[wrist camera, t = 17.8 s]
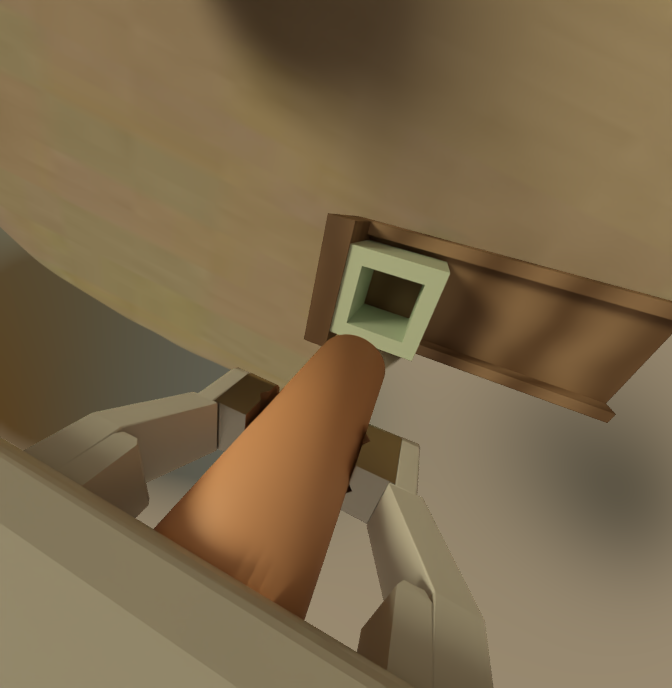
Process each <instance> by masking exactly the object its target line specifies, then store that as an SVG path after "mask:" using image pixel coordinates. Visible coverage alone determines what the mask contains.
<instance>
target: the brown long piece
mask: <svg viewBox="0 0 672 688" xmlns="http://www.w3.org/2000/svg"><path fill="white" fill-rule="evenodd" d="M365 240H373V241H376V242H380V243H383V244H387V245H390V246H394V247H397V248H401V249H404V250H408V251H411V252H415V253H418V254H422V255H425V256H429V257H432V258H436V259H439V260H443V261H446V262H447V264H448V267H449V270H450V275H449V277H448V280H447V282H446V284H445V287H444V289H443V291H442V293H441V296H440V298H439V300H438V303H437V305H436V307H435V309H434V312H433V314H432V316H431V319H430V321H429V323H428V325H427V328H426V330H425V332H424V335H423V337H422V339H421V341H420V344H419V346H418V348H417V351H416V353H415V354H418V355H421V356H423V357H426V358H429V359H432V360H435V361H437V362H440V363H443V364H446V365H448V366H451V367H454V368H457V369H459V370H462V371H465V372H468V373H470V374H473V375H476V376H479V377H482V378H485V379H487V380H490V381H493V382H495V383H498V384H501V385H504V386H506V387H509V388H512V389H515V390H517V391H520V392H523V393H526V394H529V395H532V396H534V397H537V398H540V399H542V400H545V401H548V402H551V403H553V404H556V405H559V406H562V407H564V408H567V409H570V410H573V411H576V412H578V413H581V414H584V415H587V416H589V417H592V418H595V419H598V420H601V421H603V422H606V423H608V422H609V421H610V420H611V419H612V418H613V417H614V416H615V415H616V414H615V413H614V412H613V411H612V410H611V409H610V408H609V406H607V404H606V403H607V401H609V400H610V398H612V396H613V395H614V394H615V393H616V392H617V391H618V390H619V389H620V388H621V387H622V386H623V385H624V384H625V383H626V382H627V381H628V379H630V378H631V376H632V375H633V374H634V373H635V372H636V371H637V370H638V369H639V368H640V367H641V366H642V365H643V364H644V363H645V361H647V360H648V359H649V358H650V356H651V355H652V354H653V353H654V352H655V351H656V350H657V349H658V348H659V347H660V346H661V345H662V344H663V343H664V342H665V341H666V340H667V339H668V338H669V337H670V335H671V334H672V301H670V300H666V299H662V298H659V297H655V296H651V295H648V294H644V293H640V292H636V291H633V290H629V289H625V288H622V287H618V286H614V285H611V284H607V283H603V282H600V281H596V280H592V279H588V278H585V277H581V276H577V275H574V274H570V273H566V272H563V271H559V270H555V269H552V268H548V267H544V266H540V265H537V264H533V263H529V262H526V261H522V260H518V259H515V258H511V257H507V256H503V255H500V254H496V253H492V252H489V251H485V250H481V249H478V248H474V247H470V246H467V245H463V244H459V243H455V242H452V241H448V240H444V239H441V238H437V237H433V236H430V235H426V234H422V233H419V232H415V231H411V230H407V229H404V228H400V227H396V226H393V225H389V224H385V223H382V222H378V221H374V220H371V219H367V218H363V217H359V216H350V215H340V214H330V213H328V216H327V221H326V226H325V232H324V237H323V242H322V247H321V253H320V258H319V263H318V268H317V273H316V279H315V284H314V289H313V294H312V300H311V305H310V310H309V315H308V320H307V326H306V331H305V336H304V340H307V341H310V342H312V343H315V344H318V345H320V346H323V344H324V343H325V342H326V341H328V340H329V339H331V338H332V337H335V336H336V335H337V334H336V333H333V332H331V331H330V327H331V323H332V319H333V315H334V310H335V306H336V302H337V298H338V294H339V290H340V286H341V281H342V277H343V273H344V269H345V265H346V261H347V256H348V252H349V248H350V244H352V243H356V242H360V241H365ZM421 287H422V284H420V283H416V282H413V281H410V280H407V279H403V278H400V277H397V276H394V275H390V274H387V273H384V272H381V271H377V270H374V271H373V275H372V278H371V282H370V285H369V288H368V292H367V295H366V299H365V302H364V304H367V305H370V306H373V307H376V308H379V309H382V310H385V311H388V312H391V313H394V314H397V315H400V316H403V317H406V318H409V317H410V315H411V312H412V310H413V307H414V305H415V302H416V300H417V297H418V294H419V292H420V289H421Z"/></svg>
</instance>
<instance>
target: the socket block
mask: <svg viewBox="0 0 672 688" xmlns="http://www.w3.org/2000/svg"><path fill="white" fill-rule="evenodd" d="M374 270H377V271H381V272H384V273H387V274H390V275H394V276H397V277H400V278H403V279H407V280H410V281H413V282H416V283H420V284H422V287H421V289H420V292H419V294H418V297H417V300H416V302H415V305H414V307H413V310H412V312H411V315H410V317H409V318H406V317H403V316H400V315H397V314H394V313H391V312H388V311H385V310H382V309H379V308H376V307H373V306H370V305H367V304H364V302H365V299H366V295H367V292H368V288H369V285H370V282H371V278H372V275H373V271H374ZM449 275H450V270H449V267H448V264H447V262H446V261H443V260H439V259H436V258H432V257H429V256H425V255H422V254H418V253H415V252H411V251H408V250H404V249H401V248H397V247H394V246H390V245H387V244H383V243H380V242H376V241H373V240H365V241H360V242H356V243H352V244H350V248H349V252H348V256H347V261H346V265H345V269H344V273H343V277H342V281H341V286H340V290H339V294H338V298H337V302H336V306H335V310H334V315H333V319H332V323H331V327H330V331H331V332H333V333H336V334H339V335H343V334H350V335H356V336H359V337H361V338H364V339H366V340H367V341H369V342H370V343H371V344H373V345H374V346H375V347H376V348H377V349H380V350H382V351H385V352H388V353H391V354H393V355H396V356H399V357H401V358H404V359H407V360H410V361H412V359H413V357H414V355H415V353H416V351H417V348H418V346H419V344H420V341H421V339H422V337H423V335H424V332H425V330H426V328H427V325H428V323H429V321H430V319H431V316H432V314H433V312H434V309H435V307H436V305H437V303H438V300H439V298H440V296H441V293H442V291H443V289H444V287H445V284H446V282H447V280H448V277H449Z"/></svg>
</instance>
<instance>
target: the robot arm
mask: <svg viewBox="0 0 672 688" xmlns="http://www.w3.org/2000/svg"><path fill="white" fill-rule="evenodd" d="M279 388H280V387H279V386H278V385H277V384H274V383H272V382H270V381H268V380H266V379H263V378H261V377H259V376H257V375H255V374H252V373H249V372H247V371H245V370H243V369H241V368H239V367H238V368H233V369H232V370H230V371H229V372H228V373H226V374H225V375H223V376H222V377H220V378H219V379H218V380H216V381H215V382H214V383H212V384H211V385H209V386H208V387H207V388H205V389H204V390H202V391H201V392H199V393H198V394H197V393H195V392H190V393H186V394H181V395H176V396H171V397H166V398H161V399H157V400H152V401H147V402H142V403H137V404H133V405H127V406H123V407H118V408H113V409H108V410H103V411H99V412H93V413H91V414H89V415H88V416H86V417H84V418H82V419H80V420H78V421H76V422H75V423H73V424H71V425H69V426H67V427H65V428H64V429H62V430H60V431H58V432H56V433H55V434H53V435H51V436H49V437H47V438H46V439H44V440H42V441H40V442H38V443H36V444H35V445H33V446H31V447H29V448H27V449H25V450H21V449H19V448H18V447H16V446H15V445H13V444H11V443H10V442H8V441H6V440H5V439H3V438H1V437H0V688H493V681H492V674H491V665H490V657H489V649H488V643H487V642H488V641H487V634H486V627H485V620H484V618H483V616H482V614H481V612H480V610H479V608H478V606H477V604H476V602H475V600H474V598H473V596H472V594H471V593H470V590H469V588H468V586H467V584H466V582H465V581H464V578H463V577H462V574H461V573H460V571H459V569H458V567H457V565H456V563H455V561H454V559H453V557H452V555H451V553H450V551H449V549H448V547H447V545H446V543H445V541H444V539H443V537H442V535H441V533H440V531H439V529H438V527H437V525H436V523H435V521H434V519H433V517H432V515H431V513H430V511H429V509H428V507H427V505H426V503H425V501H424V499H423V498H422V497H420V496H418V495H417V489H418V471H419V455H420V446H419V444H417V443H415V442H412V441H410V440H407V439H405V438H403V437H399V436H397V435H395V434H392V433H390V432H387V431H385V430H383V429H380V428H378V427H376V426H373V425H371V424H369V425H368V427H367V430H366V432H365V435H364V438H363V441H362V444H361V446H360V452H359V454H358V457H357V459H356V462H355V465H354V468H353V471H352V474H351V477H350V480H349V486H348V489H347V492H346V495H345V498H344V501H343V504H342V507H341V510H342V511H344V512H346V513H348V514H350V515H351V516H353V517H355V518H357V519H359V520H361V521H363V522H365V523H366V524H367V529H368V534H369V538H370V543H371V547H372V551H373V556H374V560H375V565H376V569H377V574H378V578H379V582H380V587H381V590H382V596H383V600H384V601H383V603H382V604H381V605H380V607H379V608H378V609H377V610H376V612H375V613H374V614H373V615H372V617H371V618H370V619H369V620H368V622H367V623H366V624H365V625H364V626H363V628H362V629H361V633H360V639H359V644H358V649H357V652H356V651H354V650H352V649H351V648H349V647H347V646H346V645H344V644H343V643H341V642H339V641H338V640H336V639H334V638H333V637H331V636H329V635H327V634H326V633H324V632H323V631H321V630H319V629H318V628H316V627H314V626H313V625H311V624H309V623H308V622H306V621H304V620H303V619H301V618H299V617H298V616H296V615H295V614H293V613H291V612H290V611H288V610H286V609H285V608H283V607H281V606H280V605H278V604H276V603H275V602H273V601H271V600H270V599H268V598H266V597H265V596H263V595H261V594H260V593H258V592H256V591H255V590H253V589H251V588H250V587H248V586H247V585H245V584H243V583H242V582H240V581H238V580H237V579H235V578H233V577H232V576H230V575H228V574H227V573H225V572H223V571H222V570H220V569H218V568H217V567H215V566H213V565H212V564H210V563H208V562H207V561H205V560H203V559H202V558H200V557H199V556H197V555H195V554H194V553H192V552H190V551H189V550H187V549H185V548H184V547H182V546H180V545H179V544H177V543H175V542H174V541H172V540H170V539H169V538H167V537H165V536H164V535H162V534H160V533H159V532H157V531H155V530H154V529H152V528H151V527H149V526H147V525H146V524H144V523H142V522H141V521H139V520H137V519H136V517H137V516H138V515H139V514H140V513H141V512H142V511H143V510H144V509H145V508H146V507H147V506H148V504H149V494H148V490H147V484H146V483H147V482H149V481H151V480H153V479H155V478H158V477H160V476H162V475H164V474H166V473H168V472H171V471H173V470H175V469H177V468H179V467H182V466H184V465H186V464H188V463H190V462H192V461H195V460H197V459H199V458H201V457H203V456H205V455H208V454H210V453H212V452H214V451H216V450H217V449H219V450H221V451H223V452H225V451H226V450H227V449H228V448H229V447H230V445H231V444H232V443H233V442H234V441H235V440H236V439H237V438H238V437H239V436H240V435H241V433H242V432H243V431H244V430H245V429H246V428H247V427H248V426H249V425H250V424H251V423H252V422H253V420H254V419H255V418H256V417H257V416H258V415H259V414H260V413H261V412H262V411H263V410H264V409H265V407H266V406H267V405H268V404H269V403H270V402H271V401H272V400H273V399H274V398H275V397H276V395H277V394H278V393H279Z"/></svg>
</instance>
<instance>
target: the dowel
mask: <svg viewBox="0 0 672 688" xmlns="http://www.w3.org/2000/svg"><path fill="white" fill-rule="evenodd" d="M384 375H385V364H384V361H383V358H382V356H381V354H380V352H379V351H378V350H377V348H376V347H375V346H374V345H373V344H371V343H370V342H369V341H367V340H366V339H364V338H361V337H359V336H356V335H350V334H343V335H338V336H335V337H332V338H331V339H329V340H328V341H326V342H325V343H324V344H323V346H322V347H321V348H320V349H319V350H318V351H317V352H316V353H315V354H314V355H313V356H312V357H311V359H310V360H309V361H308V362H307V363H306V364H305V365H304V366H303V367H302V368H301V369H300V371H299V372H298V373H297V374H296V375H295V376H294V377H293V378H292V379H291V380H290V381H289V382H288V384H287V385H286V386H285V387H284V388H283V389H282V390H281V391H280V392H279V393H278V394H277V395H276V397H275V398H274V399H273V400H272V401H271V402H270V403H269V404H268V405H267V406H266V407H265V409H264V410H263V411H262V412H261V413H260V414H259V415H258V416H257V417H256V418H255V419H254V420H253V422H252V423H251V424H250V425H249V426H248V427H247V428H246V429H245V430H244V431H243V432H242V433H241V435H240V436H239V437H238V438H237V439H236V440H235V441H234V442H233V443H232V444H231V445H230V447H229V448H228V449H227V450H226V451H225V452H224V453H223V454H222V455H221V457H219V459H218V460H217V461H216V462H215V463H214V464H213V465H212V466H211V467H210V468H209V469H208V471H206V473H205V474H204V475H203V476H202V477H201V478H200V479H199V480H198V481H197V482H196V483H195V485H194V486H193V487H192V488H191V489H190V490H189V491H188V492H187V493H186V494H185V495H184V496H183V498H182V499H181V500H180V501H179V502H178V503H177V504H176V505H175V506H174V507H173V508H172V509H171V511H170V512H169V513H168V514H167V515H166V516H165V517H164V518H163V519H162V520H161V521H160V523H159V524H158V525H157V526H156V527H155V528H154V530H155V531H157V532H159V533H160V534H162V535H164V536H165V537H167V538H169V539H170V540H172V541H174V542H175V543H177V544H179V545H180V546H182V547H184V548H185V549H187V550H189V551H190V552H192V553H194V554H195V555H197V556H199V557H200V558H202V559H203V560H205V561H207V562H208V563H210V564H212V565H213V566H215V567H217V568H218V569H220V570H222V571H223V572H225V573H227V574H228V575H230V576H232V577H233V578H235V579H237V580H238V581H240V582H242V583H243V584H245V585H247V586H248V587H250V588H251V589H253V590H255V591H256V592H258V593H260V594H261V595H263V596H265V597H266V598H268V599H270V600H271V601H273V602H275V603H276V604H278V605H280V606H281V607H283V608H285V609H286V610H288V611H290V612H291V613H293V614H295V615H296V616H298V617H299V618H301V619H303V620H304V619H305V616H306V613H307V610H308V607H309V604H310V601H311V598H312V595H313V592H314V589H315V586H316V583H317V580H318V577H319V574H320V571H321V568H322V565H323V562H324V559H325V556H326V553H327V549H328V546H329V543H330V540H331V537H332V534H333V531H334V528H335V525H336V522H337V519H338V516H339V513H340V510H341V507H342V504H343V501H344V498H345V495H346V492H347V489H348V486H349V480H350V477H351V474H352V471H353V468H354V465H355V462H356V459H357V457H358V454H359V452H360V446H361V444H362V441H363V438H364V435H365V432H366V430H367V427H368V425H369V422H370V419H371V415H372V412H373V410H374V406H375V403H376V400H377V397H378V394H379V391H380V388H381V385H382V382H383V379H384Z"/></svg>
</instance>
